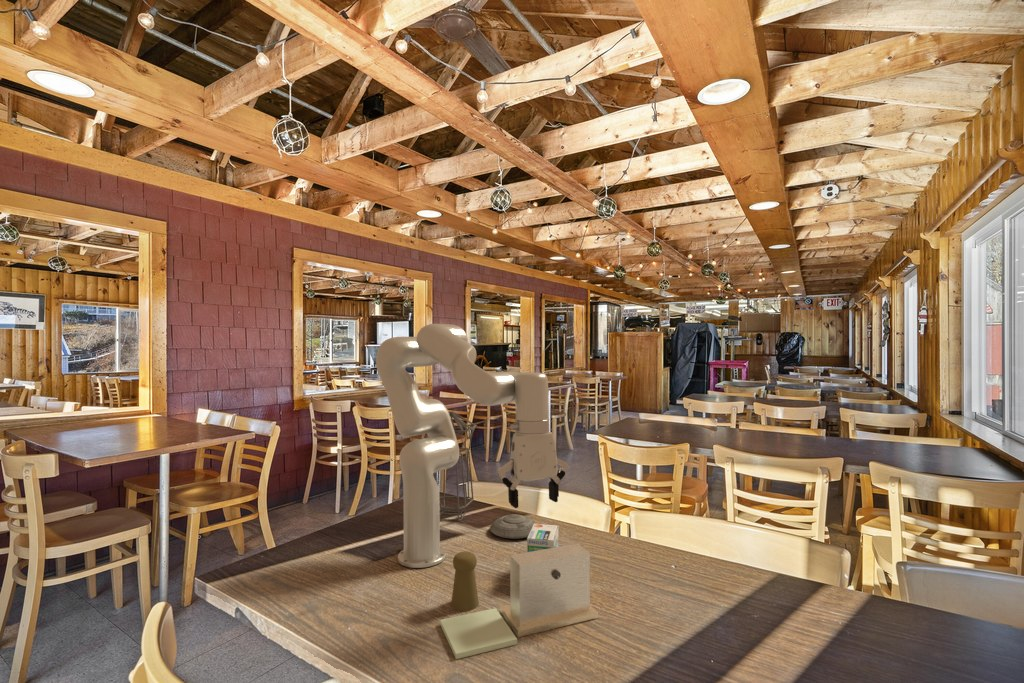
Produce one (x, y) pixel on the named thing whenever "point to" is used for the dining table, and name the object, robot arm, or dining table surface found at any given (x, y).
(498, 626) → the mat
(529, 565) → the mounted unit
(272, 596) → the dining table surface
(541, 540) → the light bulb box
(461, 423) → the geometric lantern
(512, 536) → the flying saucer
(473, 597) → the brown pawn
